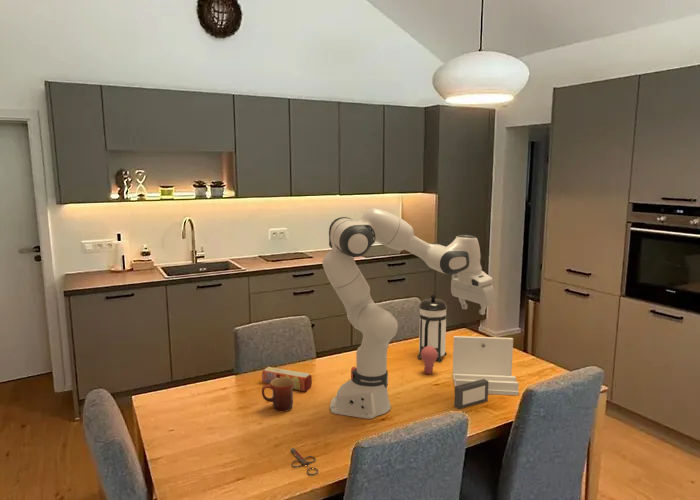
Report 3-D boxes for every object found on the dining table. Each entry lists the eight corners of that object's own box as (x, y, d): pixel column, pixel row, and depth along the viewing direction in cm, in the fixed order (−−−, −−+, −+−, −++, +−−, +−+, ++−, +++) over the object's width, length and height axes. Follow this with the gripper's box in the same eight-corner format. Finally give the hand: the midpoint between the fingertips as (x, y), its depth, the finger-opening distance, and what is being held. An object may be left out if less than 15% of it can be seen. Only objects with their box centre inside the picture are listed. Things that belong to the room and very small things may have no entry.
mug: (292, 401, 195) (292, 375, 193) (296, 411, 187) (296, 385, 185) (261, 405, 192) (260, 379, 190) (263, 416, 184) (262, 389, 182)
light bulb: (436, 370, 224) (437, 343, 222) (437, 376, 217) (438, 349, 215) (420, 369, 224) (420, 343, 222) (420, 376, 217) (421, 349, 215)
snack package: (260, 384, 211) (260, 368, 210) (270, 378, 217) (269, 363, 216) (304, 394, 202) (304, 378, 201) (313, 387, 207) (313, 371, 206)
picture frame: (459, 409, 188) (459, 389, 186) (453, 406, 190) (454, 386, 189) (487, 401, 194) (488, 381, 193) (482, 398, 197) (483, 378, 195)
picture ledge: (455, 392, 202) (456, 350, 199) (452, 375, 218) (453, 335, 215) (518, 395, 199) (520, 352, 196) (510, 377, 215) (512, 337, 213)
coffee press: (408, 353, 244) (409, 292, 239) (439, 349, 248) (440, 289, 244) (424, 366, 227) (425, 301, 223) (456, 362, 232) (458, 298, 227)
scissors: (299, 445, 166) (299, 440, 165) (326, 472, 150) (326, 467, 150) (277, 451, 162) (277, 446, 161) (303, 481, 146) (303, 475, 146)
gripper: (445, 274, 199) (448, 307, 202) (483, 283, 182) (486, 320, 185) (457, 270, 202) (461, 303, 205) (496, 279, 184) (499, 315, 187)
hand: (473, 311), depth 195 cm, fingers open, 8 cm apart
